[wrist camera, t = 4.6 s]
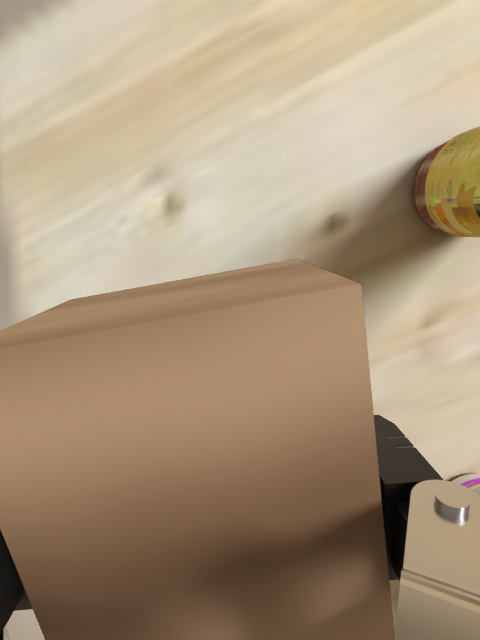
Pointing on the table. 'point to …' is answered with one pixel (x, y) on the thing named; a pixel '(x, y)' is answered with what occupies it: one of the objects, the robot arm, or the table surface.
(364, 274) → the table surface
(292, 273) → the walnut block
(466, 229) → the sauce bottle
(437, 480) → the robot arm
